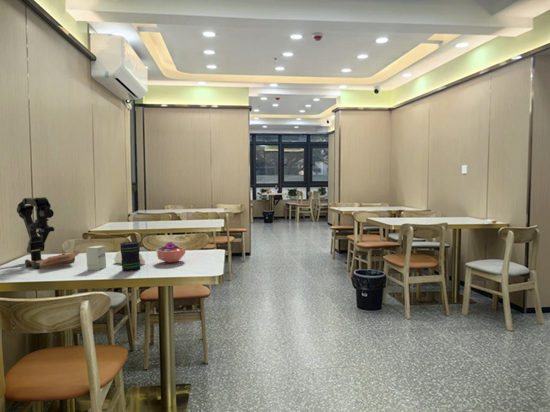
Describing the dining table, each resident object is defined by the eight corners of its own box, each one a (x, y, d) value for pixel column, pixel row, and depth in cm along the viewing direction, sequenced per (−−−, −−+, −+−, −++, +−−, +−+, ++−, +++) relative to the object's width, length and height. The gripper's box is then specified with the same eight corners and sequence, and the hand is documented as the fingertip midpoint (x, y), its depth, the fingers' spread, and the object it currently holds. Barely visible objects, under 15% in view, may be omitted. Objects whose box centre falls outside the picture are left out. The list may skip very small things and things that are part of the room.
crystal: (149, 257, 244) (125, 254, 258) (140, 253, 239) (116, 250, 253) (144, 269, 241) (121, 265, 256) (135, 265, 236) (111, 261, 251)
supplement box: (98, 270, 232) (97, 247, 231) (87, 270, 233) (85, 247, 232) (106, 267, 239) (105, 245, 238) (95, 267, 240) (93, 245, 239)
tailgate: (41, 262, 243) (48, 257, 236) (71, 257, 256) (78, 252, 250) (42, 266, 243) (49, 260, 236) (71, 260, 256) (79, 255, 250)
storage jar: (140, 267, 236) (138, 240, 235) (141, 270, 226) (139, 243, 225) (121, 269, 232) (119, 242, 231) (121, 272, 223) (119, 245, 222)
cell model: (155, 266, 235) (154, 246, 234) (157, 260, 254) (156, 241, 253) (185, 264, 238) (184, 244, 237) (186, 257, 258) (185, 239, 257)
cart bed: (24, 266, 252) (23, 259, 252) (62, 259, 270) (62, 252, 270) (37, 269, 241) (36, 261, 241) (76, 262, 259) (75, 255, 259)
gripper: (21, 218, 257) (23, 243, 258) (34, 219, 246) (36, 245, 247) (40, 216, 266) (42, 241, 267) (53, 217, 254) (55, 242, 255)
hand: (43, 242), depth 259 cm, fingers closed
